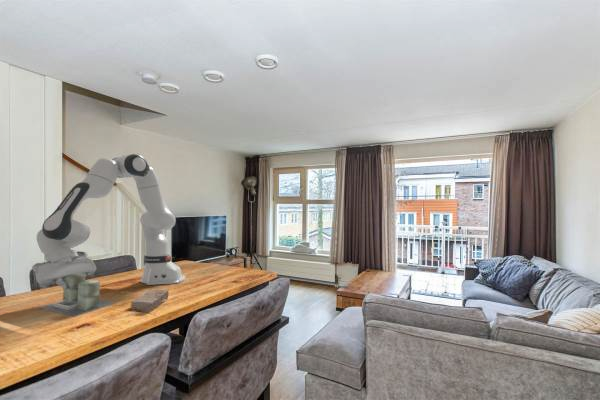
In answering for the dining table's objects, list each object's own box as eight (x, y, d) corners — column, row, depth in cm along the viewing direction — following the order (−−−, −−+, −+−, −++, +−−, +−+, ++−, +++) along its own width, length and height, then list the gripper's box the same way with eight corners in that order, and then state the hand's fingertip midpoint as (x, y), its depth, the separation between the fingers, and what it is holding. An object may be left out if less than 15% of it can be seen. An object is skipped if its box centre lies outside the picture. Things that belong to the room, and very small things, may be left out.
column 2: (90, 304, 115) (91, 279, 115) (98, 306, 113) (99, 281, 113) (77, 308, 110) (78, 282, 110) (85, 310, 108) (86, 284, 108)
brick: (150, 313, 111) (151, 301, 111) (128, 313, 111) (129, 301, 111) (168, 299, 127) (169, 289, 128) (150, 299, 127) (150, 288, 127)
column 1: (76, 296, 118) (77, 272, 118) (84, 298, 116) (85, 273, 116) (62, 300, 113) (64, 275, 113) (70, 302, 111) (71, 276, 112)
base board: (81, 298, 125) (82, 293, 125) (116, 306, 117) (116, 300, 117) (37, 310, 110) (37, 305, 110) (73, 320, 102) (73, 314, 102)
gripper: (34, 259, 108) (48, 288, 104) (90, 251, 127) (104, 275, 123) (26, 269, 109) (40, 298, 106) (83, 260, 128) (97, 284, 125)
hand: (75, 286), depth 115 cm, fingers closed on column 1, 5 cm apart
